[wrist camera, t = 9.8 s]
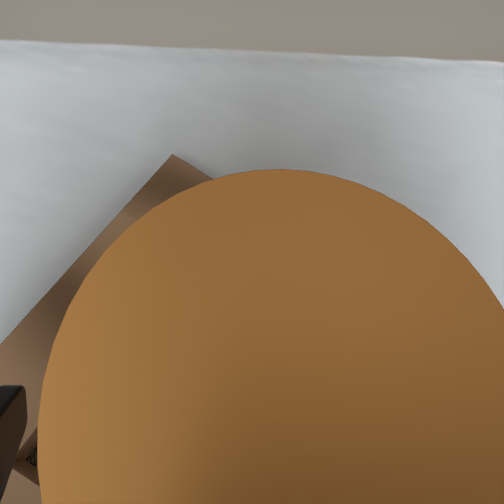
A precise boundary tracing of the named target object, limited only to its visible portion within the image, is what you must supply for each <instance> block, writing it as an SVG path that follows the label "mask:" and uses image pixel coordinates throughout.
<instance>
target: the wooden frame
mask: <svg viewBox="0 0 504 504" xmlns="http://www.w3.org/2000/svg"><path fill="white" fill-rule="evenodd" d="M210 180H213V179H212V178H210V177H209V176H207V175H205V174H204V173H202V172H201V171H199V170H197V169H196V168H194V167H193V166H191V165H189V164H188V163H186V162H185V161H183V160H181V159H180V158H178V157H177V156H175V155H173V154H172V155H171V156H170V158H169V159H168V160H167V161H166V162H165V163H164V164H163V165H162V166H161V167H160V169H159V170H158V171H157V172H156V173H155V174H154V175H153V176H152V177H151V179H150V180H149V181H148V182H147V183H146V184H145V185H144V186H143V187H142V189H141V190H140V191H139V192H138V193H137V194H136V195H135V196H134V197H133V198H132V200H131V201H130V202H129V203H128V204H127V205H126V206H125V207H124V208H123V210H122V211H121V212H120V213H119V214H118V215H117V216H116V217H115V218H114V220H113V221H112V222H111V223H110V224H109V225H108V226H107V227H106V228H105V230H104V231H103V232H102V233H101V234H100V235H99V236H98V237H97V238H96V239H95V241H94V242H93V243H92V244H91V245H90V246H89V247H88V248H87V249H86V251H85V252H84V253H83V254H82V255H81V256H80V257H79V258H78V259H77V261H76V262H75V263H74V264H73V265H72V266H71V267H70V268H69V269H68V270H67V272H66V273H65V274H64V275H63V276H62V277H61V278H60V279H59V280H58V282H57V283H56V284H55V285H54V286H53V287H52V288H51V289H50V290H49V292H48V293H47V294H46V295H45V296H44V297H43V298H42V299H41V300H40V301H39V303H38V304H37V305H36V306H35V307H34V308H33V309H32V310H31V311H30V313H29V314H28V315H27V316H26V317H25V318H24V319H23V320H22V321H21V323H20V324H19V325H18V326H17V327H16V328H15V329H14V330H13V331H12V332H11V334H10V335H9V336H8V337H7V338H6V339H5V340H4V341H3V342H2V344H1V345H0V386H1V385H22V386H24V387H25V390H26V400H27V415H28V419H27V426H26V429H25V432H24V435H23V438H22V441H21V444H20V447H19V450H18V453H17V456H16V459H15V462H14V465H13V468H12V471H11V474H10V477H9V480H8V482H7V485H6V488H5V491H4V494H3V497H2V500H1V502H0V504H42V498H41V491H40V483H39V475H38V468H36V467H35V466H33V465H32V464H30V463H29V462H27V461H26V459H27V458H28V457H29V455H30V454H31V453H32V451H33V450H34V449H35V447H36V446H37V441H38V416H39V408H40V401H41V394H42V386H43V380H44V376H45V373H46V369H47V365H48V361H49V358H50V354H51V350H52V347H53V343H54V340H55V338H56V336H57V333H58V331H59V328H60V326H61V324H62V321H63V319H64V316H65V314H66V311H67V309H68V307H69V305H70V303H71V302H72V300H73V298H74V296H75V295H76V293H77V291H78V290H79V288H80V286H81V284H82V283H83V281H84V279H85V277H86V276H87V275H88V273H89V272H90V271H91V269H92V268H93V267H94V265H95V264H96V263H97V261H98V260H99V259H100V257H101V256H102V255H103V254H104V252H105V251H106V250H107V249H108V248H109V247H110V246H111V245H112V244H113V243H114V242H115V241H116V240H117V238H118V237H119V236H120V235H121V234H122V233H123V232H124V231H125V230H126V229H127V228H128V227H129V226H131V225H132V224H133V223H135V222H136V221H137V220H138V219H140V218H141V217H142V216H144V215H145V214H146V213H147V212H149V211H150V210H151V209H153V208H154V207H156V206H158V205H159V204H161V203H163V202H164V201H166V200H168V199H169V198H171V197H173V196H174V195H176V194H178V193H180V192H182V191H185V190H187V189H189V188H192V187H194V186H196V185H199V184H201V183H203V182H206V181H210Z"/></svg>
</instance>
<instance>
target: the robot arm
mask: <svg viewBox="0 0 504 504" xmlns="http://www.w3.org/2000/svg"><path fill="white" fill-rule="evenodd" d="M27 419H28V415H27V400H26V390H25V387H24V386H22V385H1V386H0V502H1V500H2V497H3V494H4V491H5V488H6V485H7V482H8V480H9V477H10V474H11V471H12V468H13V465H14V462H15V459H16V456H17V453H18V450H19V447H20V444H21V441H22V438H23V435H24V432H25V429H26V426H27Z"/></svg>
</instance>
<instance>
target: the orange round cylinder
mask: <svg viewBox="0 0 504 504" xmlns="http://www.w3.org/2000/svg"><path fill="white" fill-rule="evenodd" d="M37 468H38V475H39V483H40V491H41V498H42V504H504V309H503V307H502V305H501V304H500V302H499V301H498V299H497V298H496V296H495V295H494V293H493V292H492V290H491V289H490V287H489V286H488V284H487V283H486V281H485V280H484V279H483V278H482V276H481V275H480V274H479V273H478V272H477V270H476V269H475V268H474V267H473V265H472V264H471V263H470V262H469V260H468V259H467V258H466V257H465V256H464V255H463V254H462V253H461V252H460V251H459V250H458V249H457V248H456V247H455V246H454V245H453V244H452V243H451V242H450V241H449V240H448V239H447V238H446V237H445V236H444V235H442V234H441V233H440V232H439V231H438V230H436V229H435V228H434V227H433V226H432V225H430V224H429V223H428V222H427V221H426V220H424V219H423V218H421V217H420V216H418V215H417V214H415V213H414V212H412V211H411V210H409V209H408V208H407V207H405V206H403V205H402V204H400V203H398V202H396V201H394V200H393V199H391V198H389V197H387V196H385V195H383V194H382V193H379V192H377V191H375V190H372V189H370V188H367V187H365V186H363V185H360V184H358V183H355V182H351V181H348V180H345V179H342V178H338V177H335V176H331V175H326V174H320V173H315V172H309V171H299V170H285V169H277V170H255V171H249V172H243V173H237V174H231V175H227V176H223V177H220V178H217V179H213V180H210V181H206V182H203V183H201V184H199V185H196V186H194V187H192V188H189V189H187V190H185V191H182V192H180V193H178V194H176V195H174V196H173V197H171V198H169V199H168V200H166V201H164V202H163V203H161V204H159V205H158V206H156V207H154V208H153V209H151V210H150V211H149V212H147V213H146V214H145V215H144V216H142V217H141V218H140V219H138V220H137V221H136V222H135V223H133V224H132V225H131V226H129V227H128V228H127V229H126V230H125V231H124V232H123V233H122V234H121V235H120V236H119V237H118V238H117V240H116V241H115V242H114V243H113V244H112V245H111V246H110V247H109V248H108V249H107V250H106V251H105V252H104V254H103V255H102V256H101V257H100V259H99V260H98V261H97V263H96V264H95V265H94V267H93V268H92V269H91V271H90V272H89V273H88V275H87V276H86V277H85V279H84V281H83V283H82V284H81V286H80V288H79V290H78V291H77V293H76V295H75V296H74V298H73V300H72V302H71V303H70V305H69V307H68V309H67V311H66V314H65V316H64V319H63V321H62V324H61V326H60V328H59V331H58V333H57V336H56V338H55V340H54V343H53V347H52V350H51V354H50V358H49V361H48V365H47V369H46V373H45V376H44V380H43V386H42V394H41V401H40V408H39V416H38V441H37Z"/></svg>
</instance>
